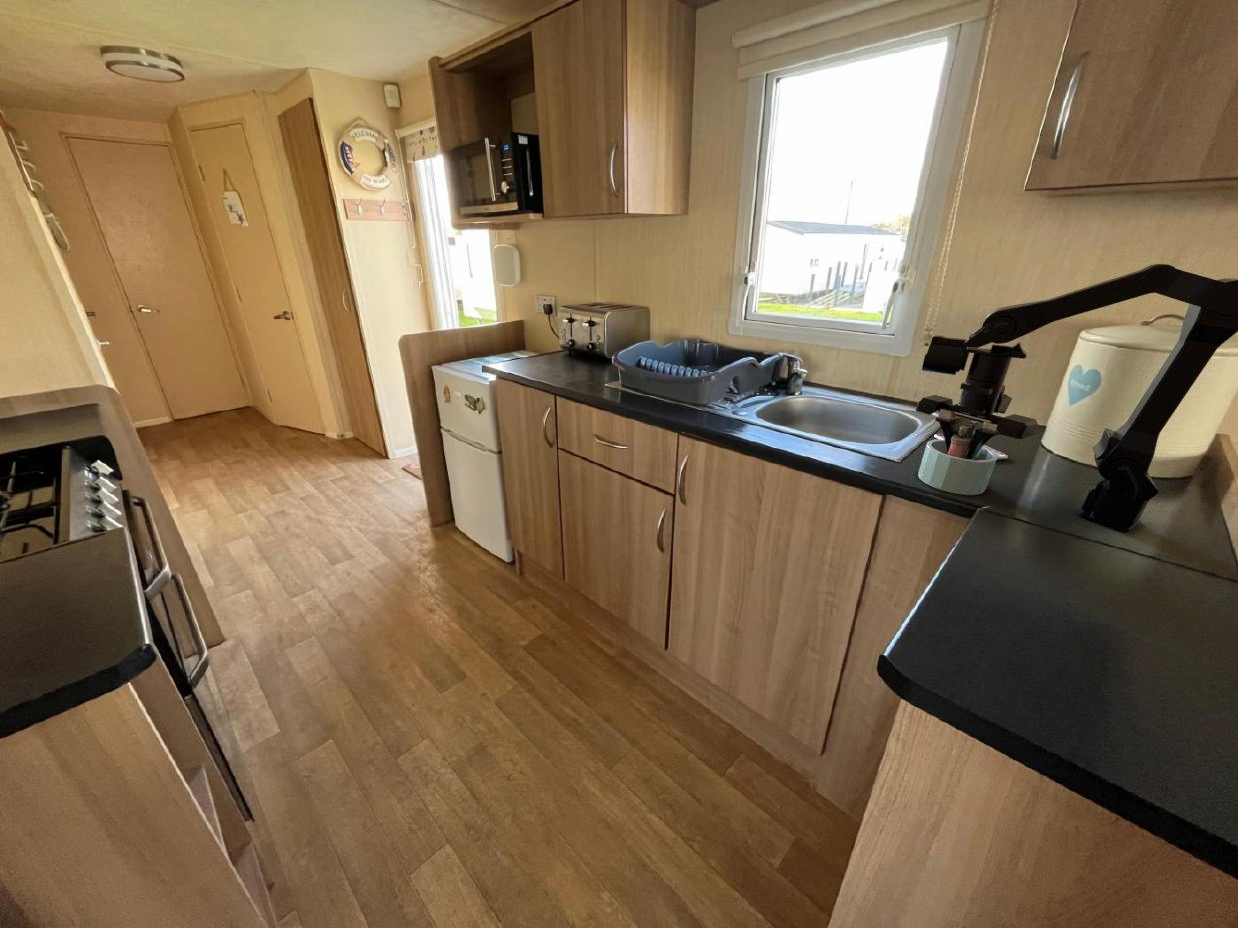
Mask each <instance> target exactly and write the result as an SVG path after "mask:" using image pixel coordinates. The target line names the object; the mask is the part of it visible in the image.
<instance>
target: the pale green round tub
mask: <svg viewBox="0 0 1238 928" xmlns="http://www.w3.org/2000/svg"><path fill="white" fill-rule="evenodd" d="M923 452H924V453H923V456H922V459H921V463H920V466H919V469H918V473H917V477H918V478H919V480H920V481H921V482H923V483H924V484H925V485H927V486H930V487H932V488H934V489H937V490H940V491H943V492H947V493H951V494H956V495H964V496H977V495H980V494H983V493H985V492H986V490H987V488H988V485H989V482H990V479H991V477H992V474H993V472H994V469H995V466H996V463H997V461H998V460H997V455H996V454H995V453H994V452H993V451H991V450H989V449H986V448H984V447H982V448H981V449H980V450H979V452H978V453H977V454H976V455H975V456H974V457H973V459H972V460H969V459H963V458H958V457H953V456H950V455H948V451H947V447H946V442H945V439H936V438H934V439H931V440H929V441H927V443H926V446H925V449H924V451H923Z"/></svg>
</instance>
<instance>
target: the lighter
mask: <svg viewBox="0 0 1238 928" xmlns="http://www.w3.org/2000/svg"><path fill="white" fill-rule="evenodd" d="M979 426H980V422H978V421H974V420H971V421H969V422H967V421H964V422H963V423H962V425H961V427H960V430H959V432H957V433H955V434H954V435H953V436H952V438H951V441H952V442H951V445H950V449H949V452H948V455H950V456H953V457H958V458H963V459H967V456H968V451H969V448H970V445H971V442H972V439H973V436H974V433H975V430H976V429H979V428H978V427H979Z"/></svg>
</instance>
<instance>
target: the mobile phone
mask: <svg viewBox="0 0 1238 928" xmlns="http://www.w3.org/2000/svg"><path fill="white" fill-rule="evenodd" d="M933 435H934V436H933V437H934V439H945V438H944V434H943V433H935V434H933ZM983 447H984V448H986V449H989V450H991V451H993V452H994V453H995V454H996V455H997V461H999V460H1007V459H1008V457H1009V456H1008V454H1006V453H1004V452H1002V451H999V450H997V449H995V448H992V447H990V446H988V445H986V444H985V445H984V446H983Z"/></svg>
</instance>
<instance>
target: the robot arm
mask: <svg viewBox="0 0 1238 928" xmlns="http://www.w3.org/2000/svg"><path fill="white" fill-rule="evenodd" d="M1150 294H1158V295H1160V296H1164V297H1167V298H1170V299H1173V300H1176V301H1179V302H1183V303H1186V304H1188V307H1187V309H1186V312H1185V315H1184V317H1183V321H1182V325H1181V330H1180V334H1179V337H1178V341H1177V342H1176V343H1175V345H1174V347H1173V348H1172V349H1171V351H1170V353H1169V355H1168V356H1167V358H1166V359H1165V361H1164V362H1163V364H1162V366H1161V367H1160V368H1159V370H1158V372H1157V374H1156V375H1155V376H1154V378H1153V380H1152V381H1151V383H1150V384H1149V386H1148V388H1147V389H1146V391H1145V393H1143V396H1142V397H1141V399H1140V400H1139V402H1138V403H1137V405H1136V406H1135V408H1134V409H1133V411H1132V412H1131V414H1130V416H1129V417H1128V418H1127V420H1126V421H1125V423H1124V424H1123V425H1121V426H1120V427H1118V428H1117V429H1116V430H1113V429H1110V428H1108V427H1106V428H1104V430H1103V431H1102V435H1101V438H1100V440H1099V441H1098V443H1096V444H1094V445H1093V446H1092V451H1093V453H1094V456H1093V457H1094V461H1095V466H1096V468H1097V471H1098V473H1099V474H1100V476H1101V477H1102V478H1103V479H1102V480H1100V481H1099V482H1097V484H1096V486H1094V487H1092V488H1090V489H1089V490H1088V493H1087V495H1086V498H1085V499H1084V502H1083V503H1082V506H1081V510H1082V511H1080V513H1079V516H1080V517H1083V518H1085V519H1088V520H1091V521H1094V522H1097V523H1100V524H1102V525H1104V526H1108V527H1110V528H1114V529H1116V530H1119V531H1121V532H1125V533H1129V532H1130V531H1131V530H1133V529H1134V528H1136V527H1137V526H1139V525H1140V524H1141V523H1142V520H1140V519H1141V517H1142V515H1143V513H1144V511H1145V509H1146V507H1147V505H1148V504H1149V502H1150V500H1152V499H1153V498H1154V497H1155V496H1156V495H1157V494H1159V489H1158V488H1157V486H1156V484H1155V482H1154V480H1153V479H1152V477H1151V475H1150V474H1149V469H1150V467H1151V464H1152V462H1153V459H1154V456H1155V452H1156V448H1157V444H1158V440H1159V437H1160V434H1161V432H1162V431H1163V429H1164V427H1165V426H1166V425H1167V424H1168V422H1169V421H1170V419H1171V417H1172V416H1173V415H1174V413H1175V411H1176V410H1177V408H1178V407H1179V406H1180V404H1181V403H1182V402H1183V400H1184V398H1185V397H1186V396H1187V394H1188V392H1189V391H1190V390H1191V388H1192V386H1193V385H1194V384H1195V382H1196V381H1197V379H1198V378H1199V377H1200V375H1201V373H1202V372H1203V371H1204V369H1205V368H1206V367H1207V365H1208V363H1209V362H1210V360H1211V358H1212V357H1213V356H1214V354H1215V353H1216V351H1217V350H1218V349H1219V348H1220V347H1221V346H1222V345H1223V344H1224V343H1226V342H1227V341H1228V340H1230V339H1231V338H1232V337H1233V336H1234V335H1236V334H1237V333H1238V278H1233V277H1231V278H1230V277H1229V278H1219V279H1214V278H1210V277H1207V276H1203V275H1200V274H1196V273H1193V272H1189V271H1185V270H1182V269H1179V268H1176V267H1175V266H1174V265H1171V264H1167V263H1155V264H1150V265H1147V266H1145V267H1144V268H1142V269H1139V270H1137V271H1132V272H1130V273H1126V274H1124V275H1121V276H1118V277H1117V276H1116V277H1114V278H1110V279H1108V280H1104V281H1102V282H1099V283H1096V284H1092V285H1089V286H1087V287H1083V288H1080V289H1076V290H1074V291H1070V292H1068V293H1064V294H1061V295H1057V296H1055V297H1051V298H1047V299H1043V300H1038V301H1032V302H1025V303H1019V304H1014V305H1013V304H1012V305H1008V306H1002V307H999V308H996V309H994V310H992V311H991V312H990V313H988V315H986V317H985V319H984V320H983V322H982V326H981V327H980V328H979V329H978V330H976V331H974V333H970V335H969V336H968V337H967V338H957V337H948V336H944V335H937V334H934V335H933V336H932V337H931V341H930V344H929V346H928V349H927V352H926V353H925V355H924V358H923V362H922V367H921V371H922V372H927V373H928V372H929V373H937V374H945V375H952V376H956V375H957V373H960V371H963V372H964V371H965V369H966V366H967V363H968V360H969V357H970V354H973V355H972V359H971V362H970V365H969V368H968V370H967V374H966V377H965V380H964V382H961V383H960V386H959V389H960V390H962V391H961V394H960V397H959V400H958V402H957V403H954V401H953V399H952V398H950V397H946V396H941V395H937V394H933V395H928V396H924V397H922V398H920V399H919V401H918V402H917V404H916V408H915V411H916V412H918V413H922V414H924V415H925V414H926V415H928V416H930V415H933V414H934V413H937V412H938V415H937V416H936V417H935V418H934V421H935V422H937V423H938V424H939V427H940V429H941V432H942V434H944V438H945V442H946V447H947V451H948V452H949V449H950V445H951V442H952V441H951V438H952V436H953V435H954V434H955V433H957V432H959V430H960V427H961V426H962V425H963V424H964V422H965V420H966V419H967V420H971V421H973V420H974V421H978V422H979V423H982V427H979V428H976V429H974V431H975V433H974V436H973V439H972V442H971V445H970V448H969V451H968V456H967V459H969V460H972V459H973V457H974V456H975V455H976V454H977V453H978V452H979V450H980V449H981V448H982V447H983V446H984V445H986V443H987V442H989V441H990V440H991V439H992V438H993V437H996V436H998V435H1001V436H1005V437H1009V438H1013V439H1016V440H1023V439H1026V438H1029V437H1032V436H1034V435H1036V432H1037V430H1038V428H1039V423H1038V421H1037V419H1036V418H1034V417H1033V418H1032V417H1028V416H1024V415H1020V414H1016V413H1013V414H1010V415H1007V416H1001V415H996V414H1003V415H1004V414H1006V413H1007V411H1008V409H1009V406H1010V404H1011V403H1012V401H1013V398H1012V397H1011V396H1009V395H1008V394H1006V393H1005V390H1006V385H1005V380H1006V377H1007V374H1008V371H1009V369H1010V365H1011V363H1012V360H1013V359H1026V358H1027V356H1028V355H1027V351H1025V349H1024V348H1023V347H1022V345H1021V342H1020V341H1019V342H1016V343H1015V344H1013V345H1001V344H1007V343H1010V342H1012V341H1015V340H1017V339H1020V338H1022V337H1024V336H1026V335H1029V334H1031V333H1033V332H1034V331H1037V330H1039V329H1041V328H1043V327H1044V326H1047V325H1049V324H1052V323H1054V322H1058V321H1061V320H1064V319H1067V318H1071V317H1074V316H1077V315H1081V314H1085V313H1088V312H1091V311H1095V310H1098V309H1101V308H1105V307H1109V306H1112V305H1114V304H1119V303H1121V302H1126V301H1129V300H1133V299H1135V298H1139V297H1142V296H1146V295H1150ZM991 343H993V344H992V346H991V348H981V347H983V346H984V347H985V346H987V345H989V344H991Z"/></svg>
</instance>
